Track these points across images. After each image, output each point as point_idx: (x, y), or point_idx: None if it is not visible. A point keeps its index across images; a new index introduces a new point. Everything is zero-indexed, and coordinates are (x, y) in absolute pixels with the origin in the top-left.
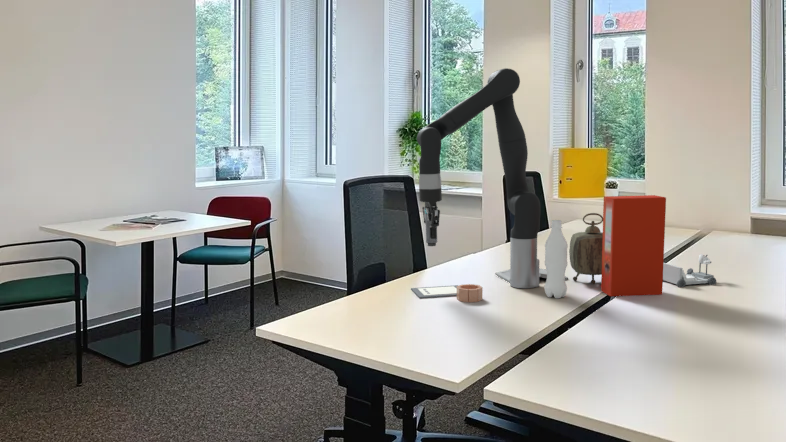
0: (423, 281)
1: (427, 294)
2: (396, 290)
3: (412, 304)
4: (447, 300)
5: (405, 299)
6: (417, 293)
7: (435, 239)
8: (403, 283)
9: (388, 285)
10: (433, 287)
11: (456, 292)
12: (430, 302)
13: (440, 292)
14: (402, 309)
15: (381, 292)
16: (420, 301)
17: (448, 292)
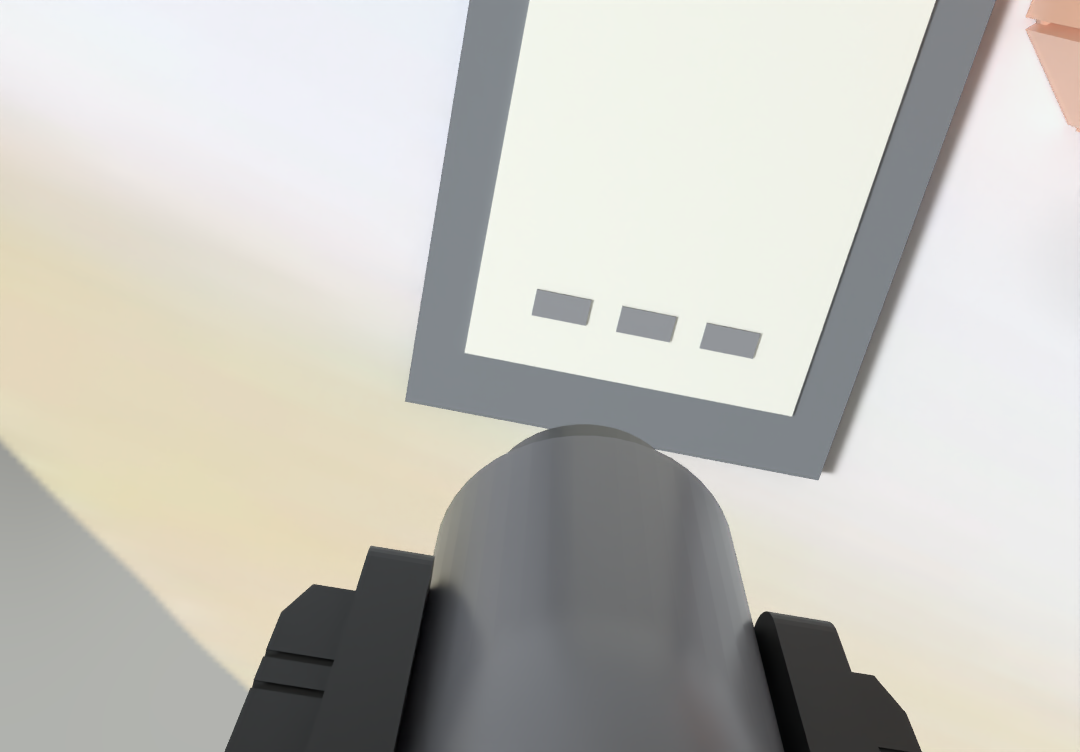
0: (28, 75)
1: (783, 375)
2: (381, 528)
3: (973, 606)
4: (1064, 258)
5: (770, 589)
6: (671, 438)
7: (741, 585)
8: (74, 343)
9: (126, 514)
10: (501, 163)
11: (893, 20)
12: (1017, 444)
13: (779, 205)
14: (1063, 726)
15: None
16: (922, 507)
17: (834, 116)
